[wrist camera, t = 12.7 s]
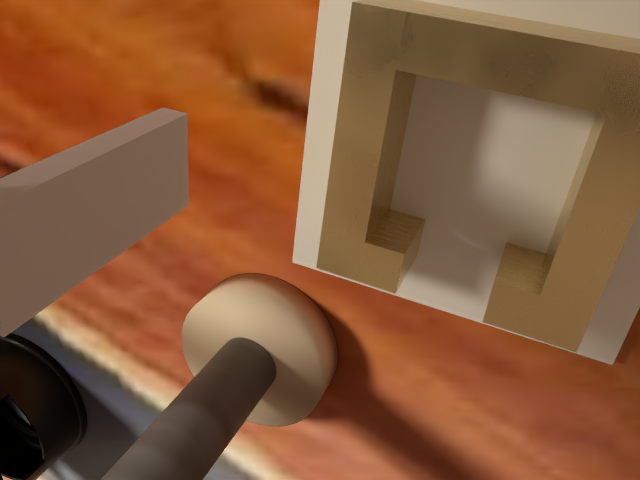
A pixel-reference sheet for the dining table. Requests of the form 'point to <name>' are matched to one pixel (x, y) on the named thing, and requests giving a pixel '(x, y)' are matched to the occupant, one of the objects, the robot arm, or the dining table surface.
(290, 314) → the peg stand
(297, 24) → the dining table surface
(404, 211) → the felt mat
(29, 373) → the french press
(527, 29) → the brass C-link
